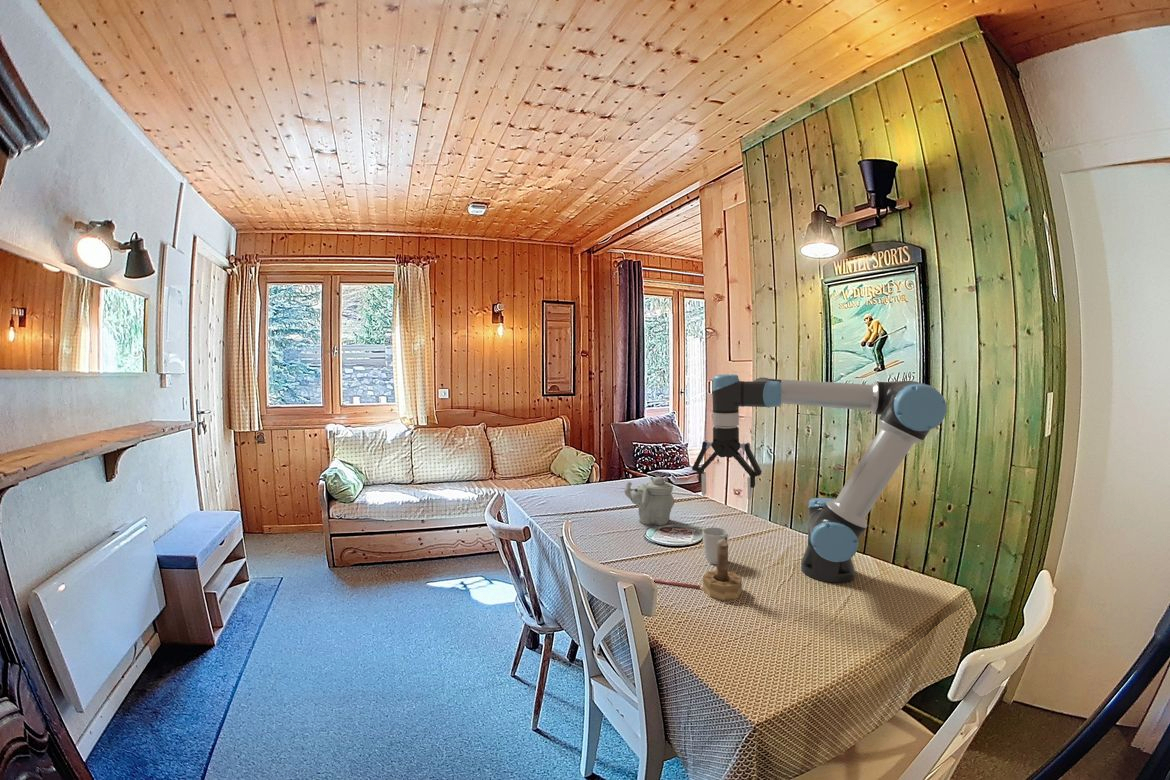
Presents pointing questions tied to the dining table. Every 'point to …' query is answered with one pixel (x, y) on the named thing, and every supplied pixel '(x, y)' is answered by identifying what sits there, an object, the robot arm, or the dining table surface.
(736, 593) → the wooden ring block
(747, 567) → the dining table surface
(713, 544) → the cup
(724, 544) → the brown rod
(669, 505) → the teapot
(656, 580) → the thin red rod
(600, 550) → the dining table surface
